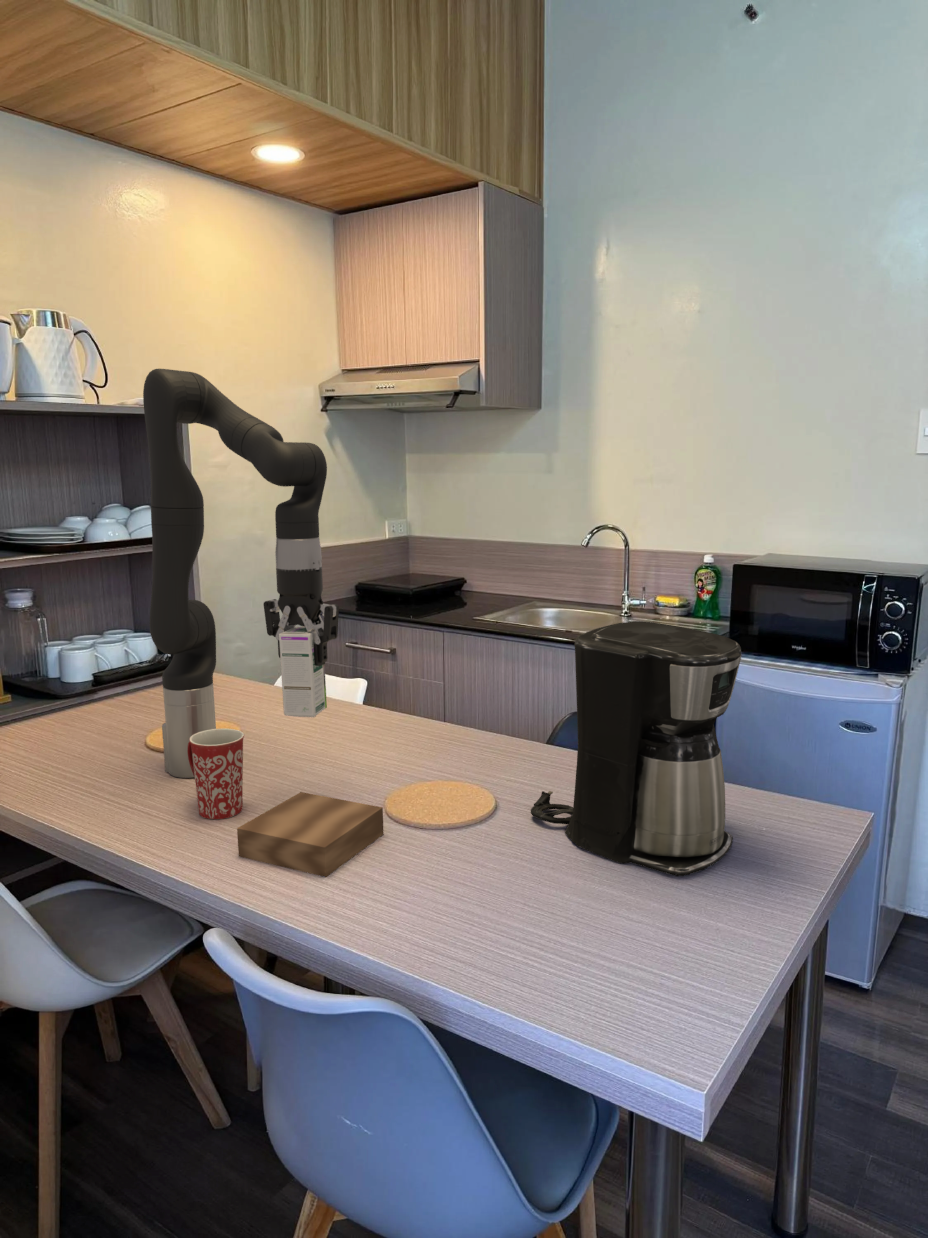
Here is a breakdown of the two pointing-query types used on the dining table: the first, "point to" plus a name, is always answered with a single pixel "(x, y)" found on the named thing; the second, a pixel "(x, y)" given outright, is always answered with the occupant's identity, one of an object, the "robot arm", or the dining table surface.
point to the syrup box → (301, 674)
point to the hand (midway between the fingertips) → (303, 662)
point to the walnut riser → (310, 833)
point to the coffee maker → (650, 746)
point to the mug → (217, 771)
